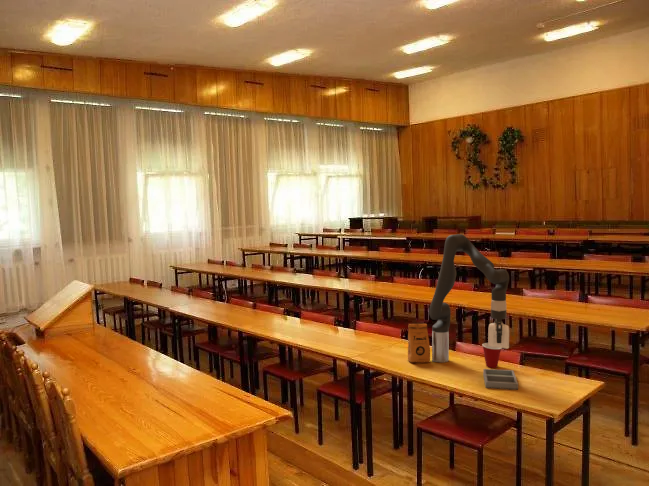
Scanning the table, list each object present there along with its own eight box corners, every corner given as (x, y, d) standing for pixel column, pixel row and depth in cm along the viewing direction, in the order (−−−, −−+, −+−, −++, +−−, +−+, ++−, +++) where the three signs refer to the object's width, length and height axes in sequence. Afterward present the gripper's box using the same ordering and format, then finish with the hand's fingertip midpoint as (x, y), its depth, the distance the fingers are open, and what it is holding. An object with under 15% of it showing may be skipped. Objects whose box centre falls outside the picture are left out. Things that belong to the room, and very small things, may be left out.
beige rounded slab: (509, 347, 278) (509, 323, 277) (508, 349, 275) (508, 325, 274) (489, 344, 284) (489, 321, 283) (487, 346, 280) (487, 323, 279)
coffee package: (431, 364, 308) (430, 325, 306) (408, 364, 308) (408, 325, 307) (428, 358, 318) (428, 321, 316) (407, 359, 318) (406, 321, 317)
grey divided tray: (485, 387, 267) (485, 382, 267) (483, 374, 288) (483, 368, 287) (518, 389, 264) (518, 383, 264) (513, 376, 284) (513, 370, 284)
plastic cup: (503, 370, 295) (503, 348, 294) (482, 369, 297) (482, 347, 296) (501, 364, 305) (501, 342, 304) (481, 363, 307) (481, 342, 306)
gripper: (490, 305, 285) (490, 337, 287) (491, 311, 272) (491, 344, 273) (505, 306, 284) (505, 338, 285) (507, 311, 270) (507, 345, 271)
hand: (498, 341), depth 279 cm, fingers closed on beige rounded slab, 5 cm apart
